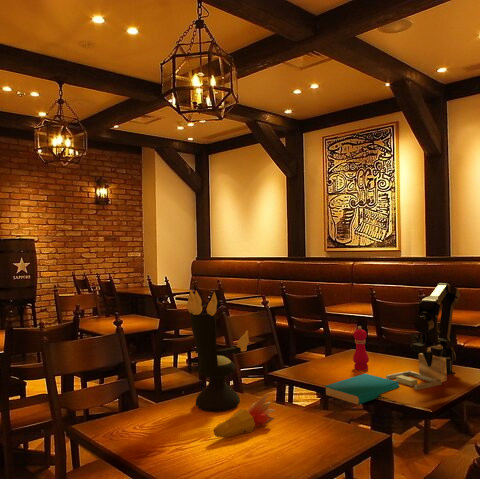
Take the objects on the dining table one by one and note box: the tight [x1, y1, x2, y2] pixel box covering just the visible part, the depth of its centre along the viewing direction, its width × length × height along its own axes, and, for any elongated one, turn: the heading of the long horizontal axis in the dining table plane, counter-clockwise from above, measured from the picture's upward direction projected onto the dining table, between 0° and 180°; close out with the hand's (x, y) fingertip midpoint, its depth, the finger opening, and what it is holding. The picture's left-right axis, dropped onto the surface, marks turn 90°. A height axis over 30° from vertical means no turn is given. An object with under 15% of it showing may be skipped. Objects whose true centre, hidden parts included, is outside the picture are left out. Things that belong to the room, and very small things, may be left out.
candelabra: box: [186, 289, 250, 413], centre depth 182 cm, size 19×22×45 cm
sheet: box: [417, 353, 448, 383], centre depth 204 cm, size 3×12×10 cm, turn 25°
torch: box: [213, 394, 276, 438], centre depth 158 cm, size 8×8×25 cm
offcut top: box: [395, 375, 418, 387], centre depth 198 cm, size 3×8×2 cm, turn 30°
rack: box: [385, 370, 443, 391], centre depth 199 cm, size 13×17×3 cm
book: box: [324, 373, 400, 406], centre depth 192 cm, size 17×4×25 cm
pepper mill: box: [352, 325, 370, 371], centre depth 227 cm, size 7×7×20 cm
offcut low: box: [394, 379, 415, 388], centre depth 198 cm, size 4×10×2 cm, turn 26°
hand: (432, 366), depth 204 cm, fingers closed on sheet, 3 cm apart
